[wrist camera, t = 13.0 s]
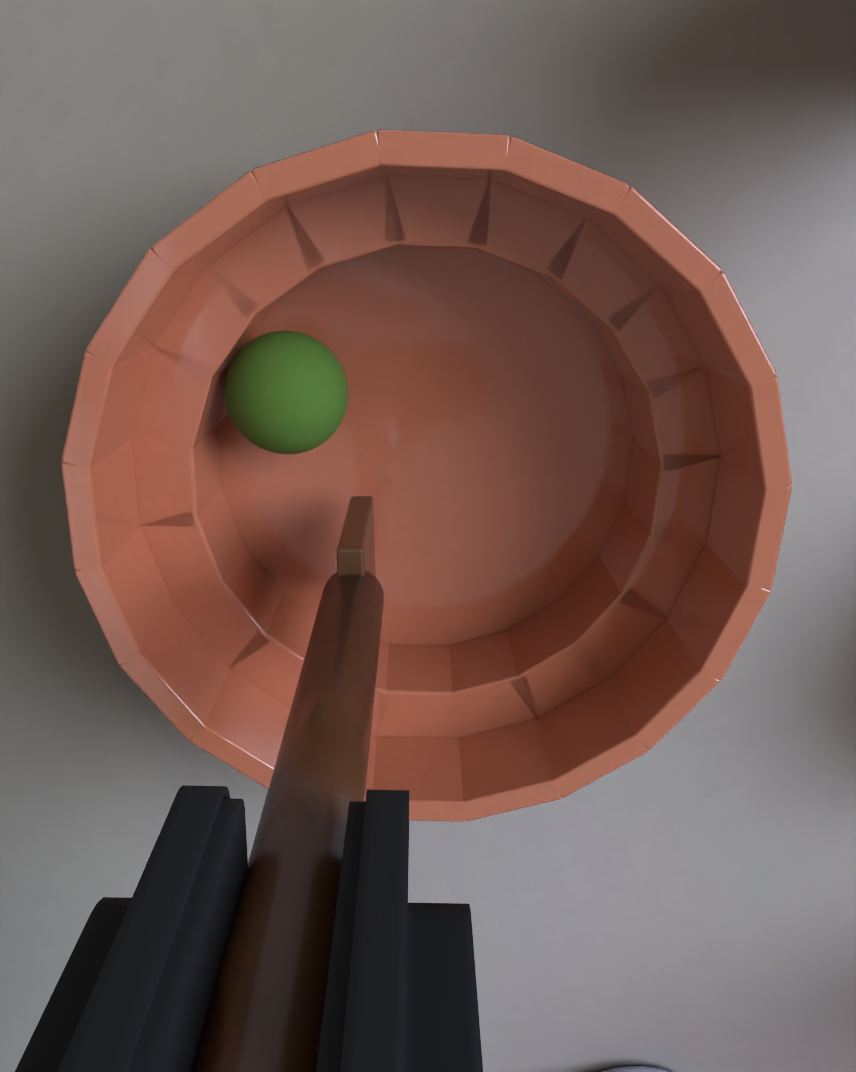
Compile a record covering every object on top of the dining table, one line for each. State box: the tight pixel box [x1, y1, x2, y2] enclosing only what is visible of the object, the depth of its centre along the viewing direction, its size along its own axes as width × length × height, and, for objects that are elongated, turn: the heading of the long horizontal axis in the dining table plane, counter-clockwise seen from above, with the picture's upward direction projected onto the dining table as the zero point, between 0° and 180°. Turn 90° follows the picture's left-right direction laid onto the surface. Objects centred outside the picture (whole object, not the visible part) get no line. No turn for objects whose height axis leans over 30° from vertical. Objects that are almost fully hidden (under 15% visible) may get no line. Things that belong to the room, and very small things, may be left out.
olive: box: [225, 331, 348, 454], centre depth 20 cm, size 3×3×3 cm
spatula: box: [192, 496, 384, 1072], centre depth 14 cm, size 3×1×18 cm, turn 1°
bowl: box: [61, 129, 792, 822], centre depth 20 cm, size 15×15×6 cm
